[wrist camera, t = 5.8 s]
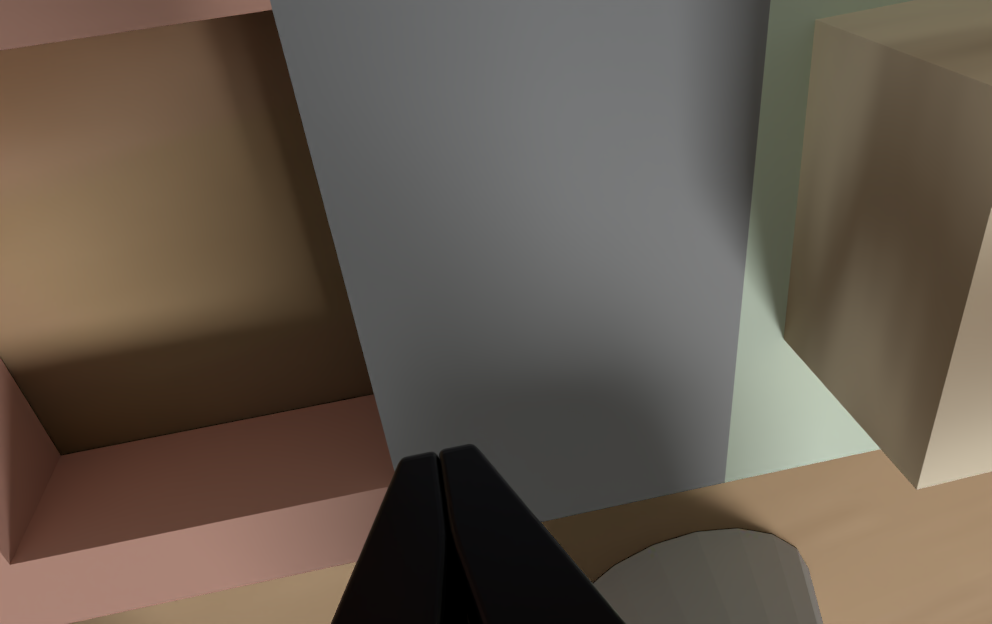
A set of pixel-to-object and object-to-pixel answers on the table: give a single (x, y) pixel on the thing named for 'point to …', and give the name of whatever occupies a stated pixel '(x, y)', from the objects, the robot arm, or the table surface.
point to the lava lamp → (713, 582)
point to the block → (900, 231)
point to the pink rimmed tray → (475, 286)
